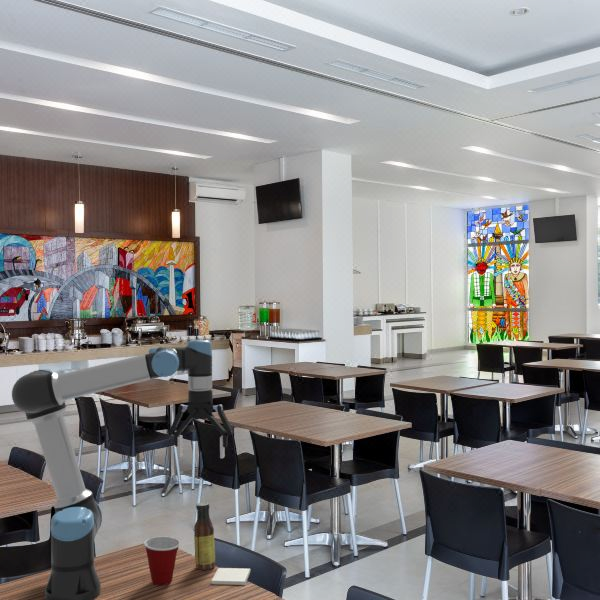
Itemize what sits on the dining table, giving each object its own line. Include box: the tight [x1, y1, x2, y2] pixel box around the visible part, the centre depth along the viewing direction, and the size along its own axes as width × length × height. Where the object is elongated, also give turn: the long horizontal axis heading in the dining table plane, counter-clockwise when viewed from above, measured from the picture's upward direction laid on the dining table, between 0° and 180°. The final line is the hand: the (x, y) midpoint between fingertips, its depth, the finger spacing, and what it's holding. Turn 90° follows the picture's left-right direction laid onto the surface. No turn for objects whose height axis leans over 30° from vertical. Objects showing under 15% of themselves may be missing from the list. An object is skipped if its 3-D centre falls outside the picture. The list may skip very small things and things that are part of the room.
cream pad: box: [210, 567, 251, 586], centre depth 209 cm, size 10×10×1 cm
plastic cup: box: [143, 535, 181, 586], centre depth 207 cm, size 11×11×12 cm
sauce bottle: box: [193, 501, 216, 571], centre depth 218 cm, size 7×6×20 cm
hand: (201, 457), depth 217 cm, fingers open, 13 cm apart
